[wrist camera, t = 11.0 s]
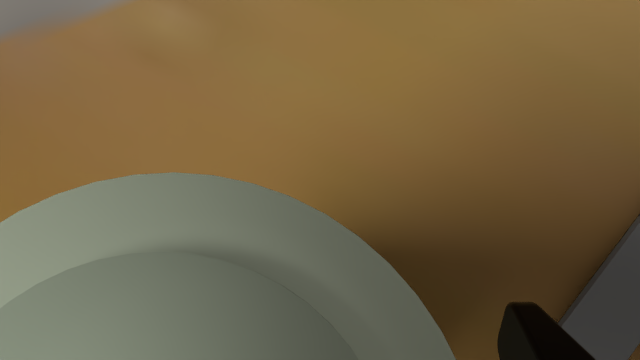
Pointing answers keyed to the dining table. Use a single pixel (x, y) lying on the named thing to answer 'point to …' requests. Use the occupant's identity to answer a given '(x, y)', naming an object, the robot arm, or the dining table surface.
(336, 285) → the sage cup
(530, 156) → the dining table surface
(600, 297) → the dot frame
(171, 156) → the dining table surface
